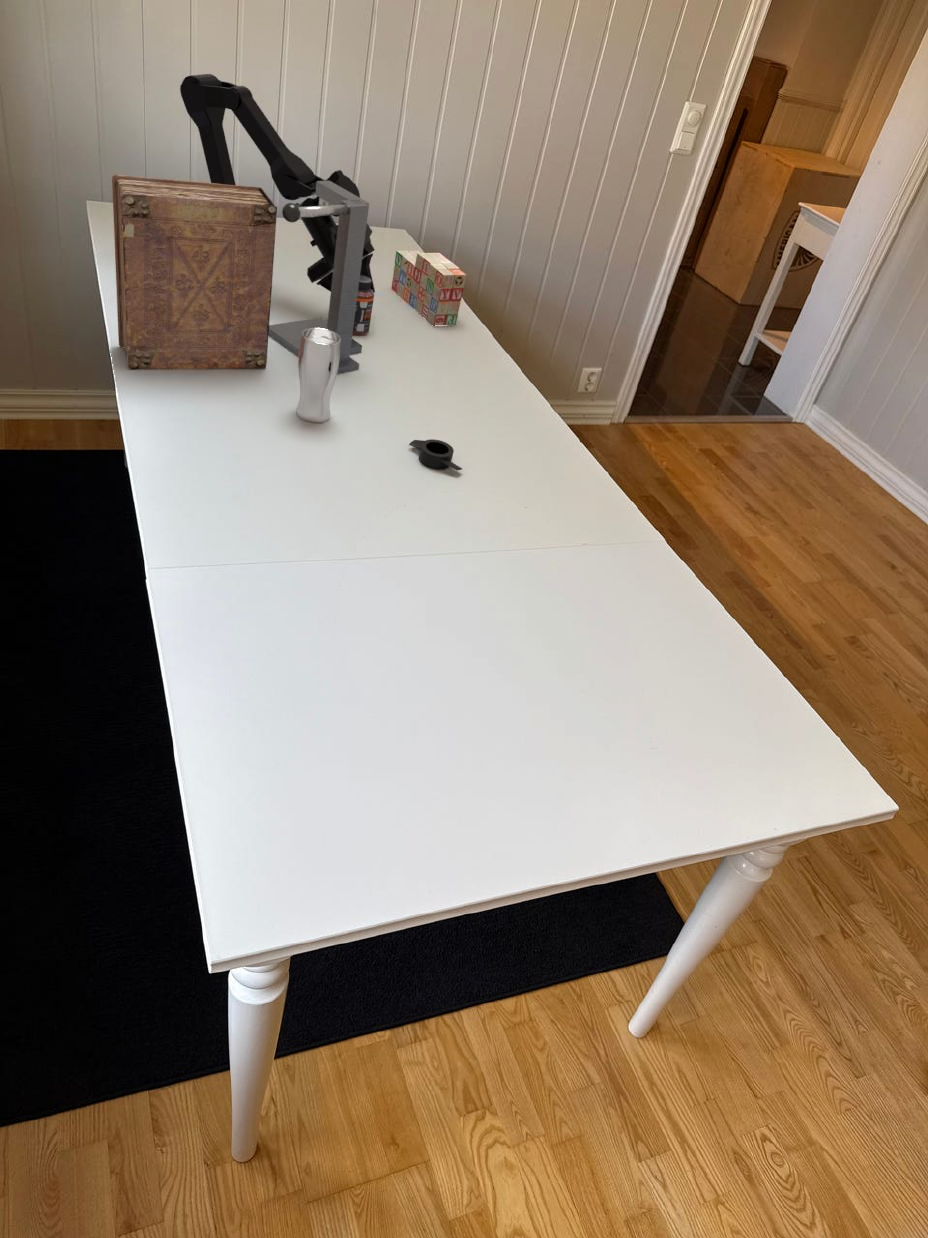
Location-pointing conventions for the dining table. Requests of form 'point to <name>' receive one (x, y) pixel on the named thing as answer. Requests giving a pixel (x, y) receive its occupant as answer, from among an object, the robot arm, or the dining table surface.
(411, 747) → the dining table surface
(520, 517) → the dining table surface
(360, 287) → the supplement bottle
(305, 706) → the dining table surface
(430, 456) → the black winged ring
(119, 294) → the book
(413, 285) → the stack of blocks
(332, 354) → the beer glass
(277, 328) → the arbor press
